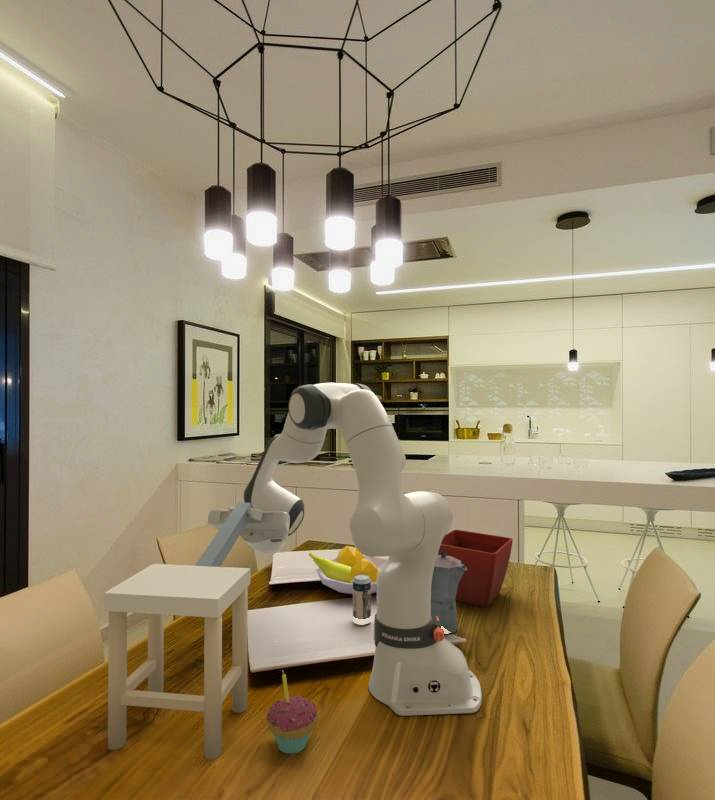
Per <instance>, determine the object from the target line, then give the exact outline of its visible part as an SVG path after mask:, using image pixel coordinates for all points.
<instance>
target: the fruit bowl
mask: <svg viewBox="0 0 715 800" xmlns="http://www.w3.org/2000/svg"><path fill="white" fill-rule="evenodd" d="M308 556H309V557H310V558H311V559H312V561H313V562H314V564H315V565H316V566H317V568H316V569H315V570H316V572H317V575H318V577H319V579H320V581H321V583H322V585H324V586H327V587H328V588H330V589H332V590H334V591H337V592H338V593H343V594H347V595H353V579H354V577H355V576H356V575H362V574H364V575H368V576H369V578H370V580H371V595H372V594H375V593H376V594H377V578H378V575H379V573H380V571H381V570H382V568H383V567H384V566H385V564H386V562H387V560H388V559H387V558H383V557H369V556H365V555H363V554H362V553H361V552H359V551H358V549H357V548H356V547H355V546H351V545H350V546H349V545H346V546H344V547H343V548H342V549H341V550H339V551H338V553H337V556H336V557H335V558H332V559H326V558H324V557H320V556H315V554H314V553H312V552H310V553H308ZM327 578H330V579H327ZM331 579H333V580H331Z"/></svg>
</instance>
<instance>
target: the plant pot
mask: <svg viewBox="0 0 715 800" xmlns="http://www.w3.org/2000/svg"><path fill="white" fill-rule="evenodd" d="M513 541H514V539H513V538H511V537H507V536H506V537H504V536H501V535H500V536H499V535H494V534H487V533H481V532H475V531H468V530H460V529H453V530H451V531H448V532H447V533H446V535H445V536H444V538H443V540H442V543H441V545H440V548H439V552H438V555H441V551H442V550H444V551H447V553H446V556H451V557H454V558H456V559H458V560H460V561H461V564H463V565H464V566H465V567H466V568H467V571H465V572H464V573H463V575H462V577H461V579H460V581H459V583H458V587H457V593H456V598H455V601H457V602H458V601H459V602H461V603H462V602H463V603H465V604H470V605H473V606H477V607H478V606H479V607H483V608H488V607H489V606H490V605H491V604H492V603H493V601H494V600H495V599H496V598H498V596H499V594H500V592H501V589H502V587H503V584H504V580H505V578H506V573H507V571H508V567H509V563H510V559H511V553H512V548H513Z"/></svg>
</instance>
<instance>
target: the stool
mask: <svg viewBox="0 0 715 800" xmlns="http://www.w3.org/2000/svg"><path fill="white" fill-rule="evenodd" d="M250 585H251V567H234V566H233V567H229V566H228V567H227V566H224V567H223V566H221V567H212V566H195V565H191V564H190V565H186V564H169V563H168V564H167V563H166V564H165V563H164V564H163V563H152V564H150V565H149V566H147V567H145V568H143V569H142V570H141V571H139V572H136V573H135V574H133V575H131V576H130V577H129V578H127V579H125V580H124V581H122V582H120V583H118V584H117V585H115V586H113V587H112V588H110V589H108V590H107V591H105V592H104V593H103V596H104V597H103V611H104V612H108V643H107V644H108V646H107V647H108V653H107V654H108V656H107V657H108V659H107V661H108V662H107V664H108V666H107V667H108V668H107V669H108V670H107V671H108V672H107V676H108V677H107V679H108V681H107V682H108V683H107V685H108V686H107V687H108V689H107V703H108V704H107V748H108V749H109V750H110V751H115V750H119V749H121V748H123V747H124V746H125V745H126V743H127V716H128V715H127V708H128V707H127V706H132V707H133V706H134V707H143V708H154V709H156V708H157V709H167V710H178V711H190V712H202V713H203V757H204V759H206V760H210V761H211V760H215V759H218V758H219V757H221V756H222V754H223V753H222V749H223V748H222V747H223V746H222V745H223V744H222V743H223V742H222V741H223V737H222V736H223V733H222V732H223V730H222V729H223V722H222V720H223V718H222V717H223V716H222V714H223V710H222V709H223V702H224V701H225V700H226V698H227V696H229V693H230V692H231V697H232V698H231V699H232V700H231V709H232V712H233V713H235V714H241V713H244V712H246V711H247V710H248V648H249V647H248V645H249V644H248V641H249V640H248V638H249V637H248V627H249V626H248V621H249V618H248V617H249V616H248V615H249V614H248V612H249V611H248V608H249V607H248V604H249V603H248V601H249V600H248V599H249V597H248V596H249V595H248V594H249V593H248V592H249V591H248V589H249V588H248V587H249V586H250ZM231 605H232V614H231V615H232V618H231V619H232V620H231V621H232V623H231V624H232V625H231V626H232V631H231V633H232V635H231V636H232V637H231V638H232V641H231V642H232V643H231V644H232V648H231V649H232V651H231V652H232V653H231V654H232V656H231V659H232V660H231V661H232V663H231V667H230V669H229V670H228V672H227V673H226V674H225V675H224V677H223V613H225V612H226V610H227V609H228V608H229V607H230V606H231ZM128 613H132V614H133V613H134V614H147V659H146V660H145V661H144V662H143V663H142V664H141V665H140V666H139V667H138V668H137V669H135V670H134V672H132V673H131V674H130V675H129V676H128V675H127V673H128V669H127V667H128V656H127V655H128ZM164 615H166V616H180V617H181V616H184V617H200V618H204V619H203V621H204V625H203V626H204V627H203V628H204V630H203V631H204V633H203V636H204V638H203V640H204V641H203V643H204V644H203V645H204V647H203V658H204V659H203V660H204V661H203V668H204V669H203V695H196V694H184V693H174V692H172V693H171V692H164V673H165V672H164V670H165V669H164V662H165V661H164V658H165V657H164V653H165V651H164V649H165V648H164V644H165V643H164V641H165V639H164V638H165V637H164V634H165V633H164V631H165V629H164V628H165V626H164V625H165V623H164V622H165V619H164V617H165V616H164ZM146 678H147V690H138V689H137V690H136V688H137V687H138V686H139V685H140V684H141V683H142V682H143V681H144V680H145V679H146Z"/></svg>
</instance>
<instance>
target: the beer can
mask: <svg viewBox="0 0 715 800" xmlns="http://www.w3.org/2000/svg"><path fill="white" fill-rule="evenodd" d="M353 616H354V617H355V618H358V619H366V618H369V617H370V616H371V617H372V594H371V580H370V578H369V576H368V575H364V574H362V575H356V576H355V577H354V579H353V594H352V617H353Z"/></svg>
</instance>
